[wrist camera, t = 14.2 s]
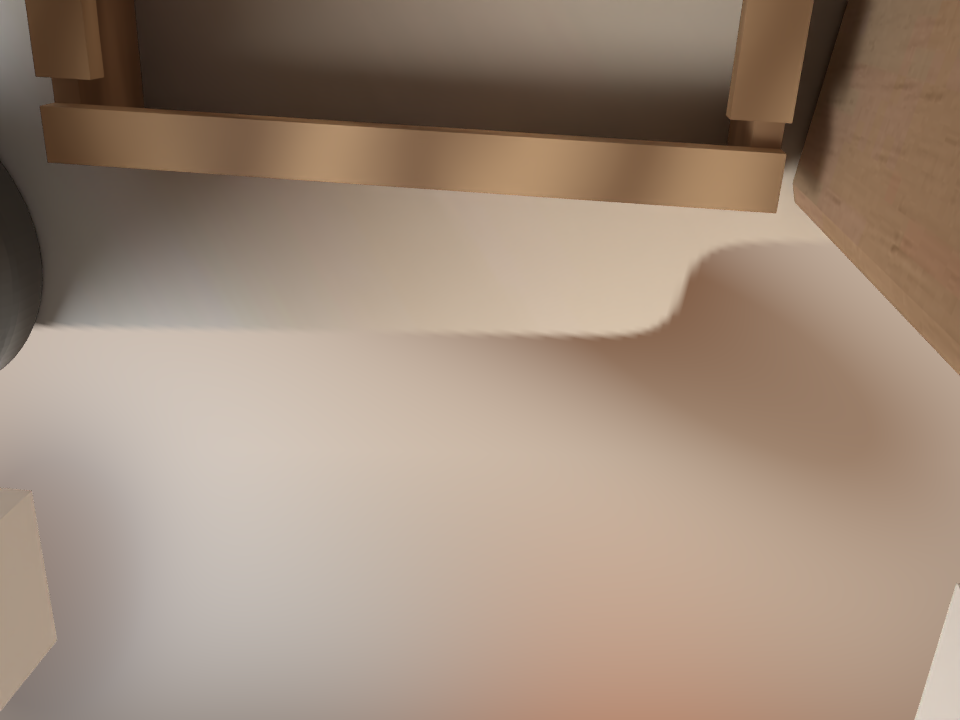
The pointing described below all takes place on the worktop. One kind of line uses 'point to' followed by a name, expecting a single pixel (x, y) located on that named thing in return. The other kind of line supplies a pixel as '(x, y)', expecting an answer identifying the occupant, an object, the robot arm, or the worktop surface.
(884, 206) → the block
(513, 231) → the worktop surface
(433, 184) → the tray
